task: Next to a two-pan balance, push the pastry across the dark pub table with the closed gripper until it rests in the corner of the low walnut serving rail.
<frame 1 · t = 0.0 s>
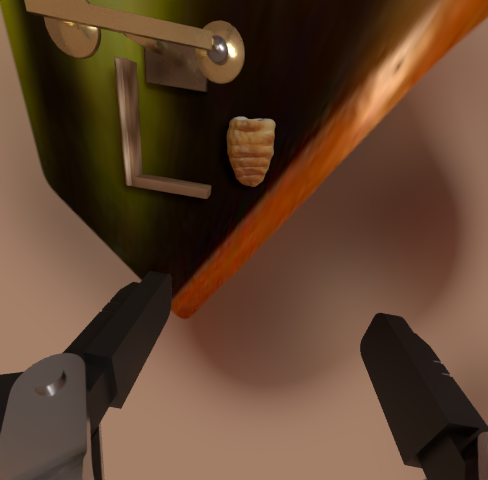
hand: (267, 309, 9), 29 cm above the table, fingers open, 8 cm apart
balance: (178, 60, 30), on the table
pastry: (252, 147, 34), on the table
serving rail: (135, 128, 34), on the table
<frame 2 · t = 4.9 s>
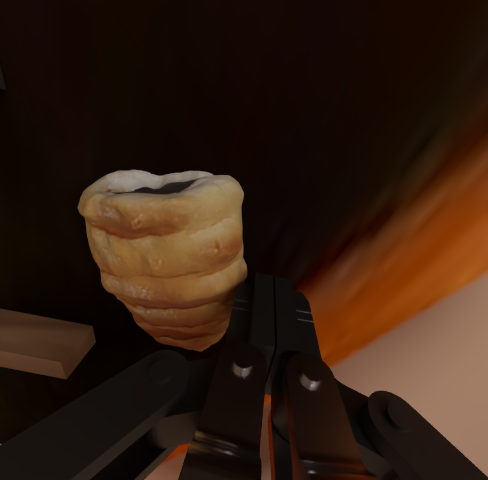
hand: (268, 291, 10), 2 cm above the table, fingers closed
pastry: (188, 245, 12), on the table, touching gripper
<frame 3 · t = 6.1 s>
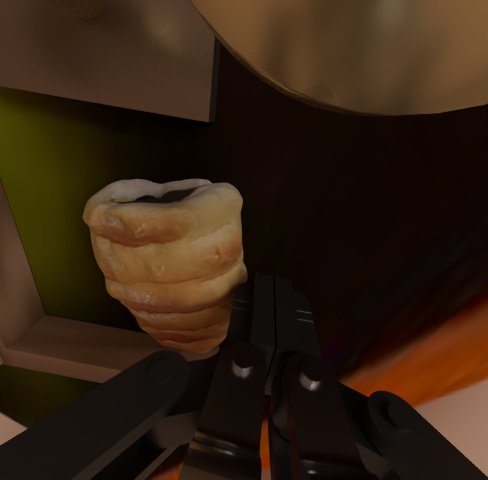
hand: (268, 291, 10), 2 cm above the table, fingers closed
pastry: (189, 249, 12), on the table, touching gripper
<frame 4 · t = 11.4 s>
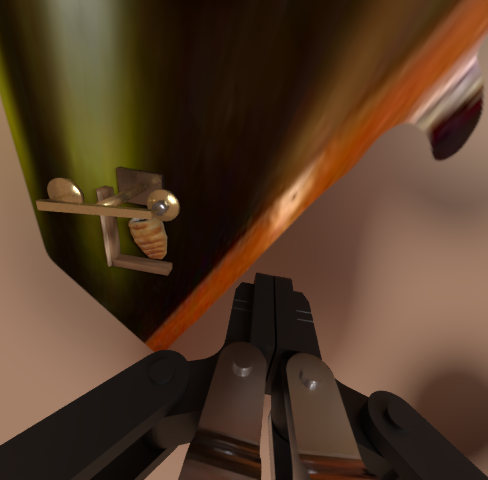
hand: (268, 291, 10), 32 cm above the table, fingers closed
balance: (142, 187, 42), on the table
pastry: (154, 231, 47), on the table
serving rail: (113, 225, 46), on the table
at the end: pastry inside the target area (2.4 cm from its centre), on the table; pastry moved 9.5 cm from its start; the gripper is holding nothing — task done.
